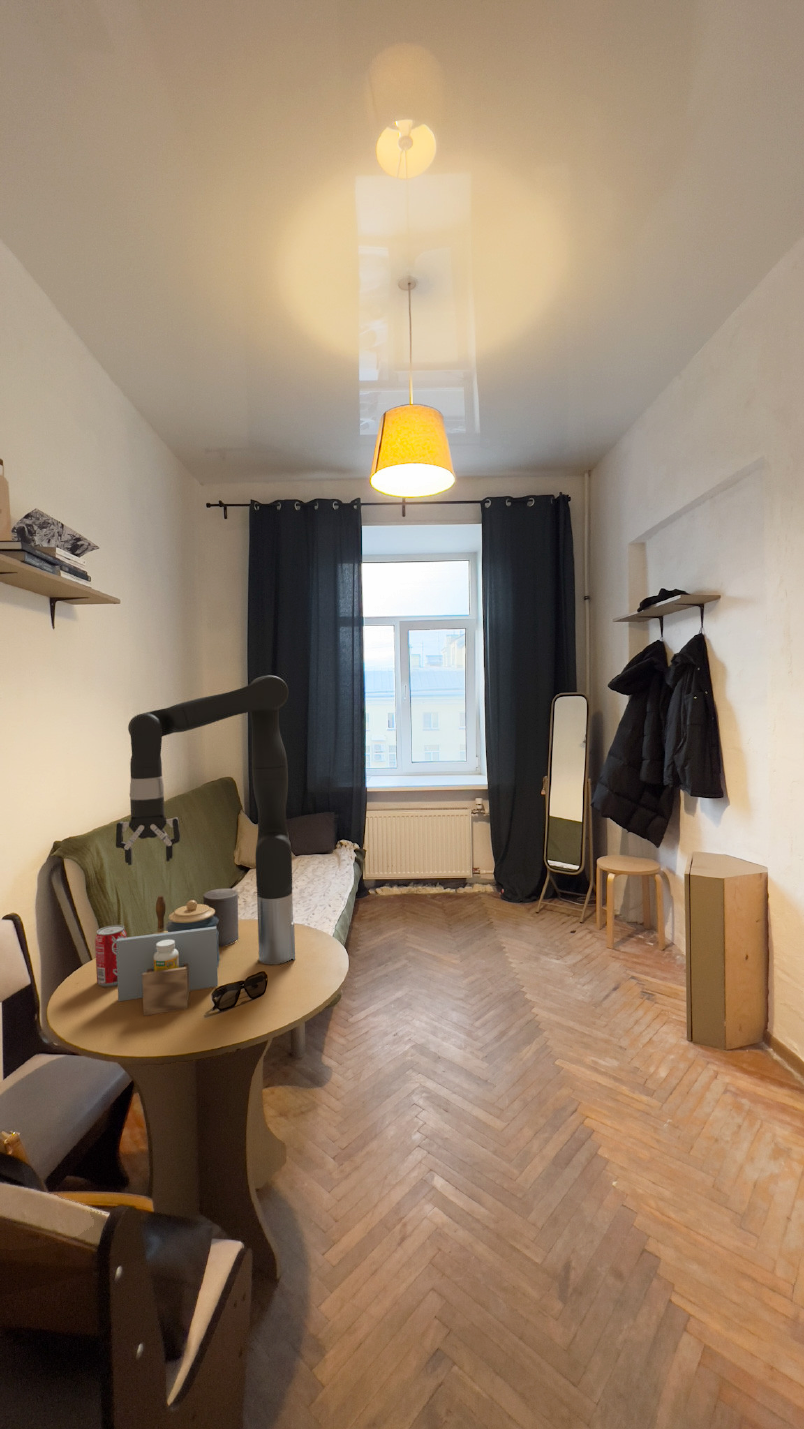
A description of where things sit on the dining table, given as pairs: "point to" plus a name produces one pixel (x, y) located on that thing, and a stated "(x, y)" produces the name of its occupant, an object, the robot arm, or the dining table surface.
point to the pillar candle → (224, 913)
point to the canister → (193, 919)
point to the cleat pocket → (165, 990)
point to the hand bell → (160, 914)
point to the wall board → (192, 950)
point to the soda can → (107, 954)
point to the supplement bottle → (166, 956)
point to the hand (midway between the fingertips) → (149, 862)
